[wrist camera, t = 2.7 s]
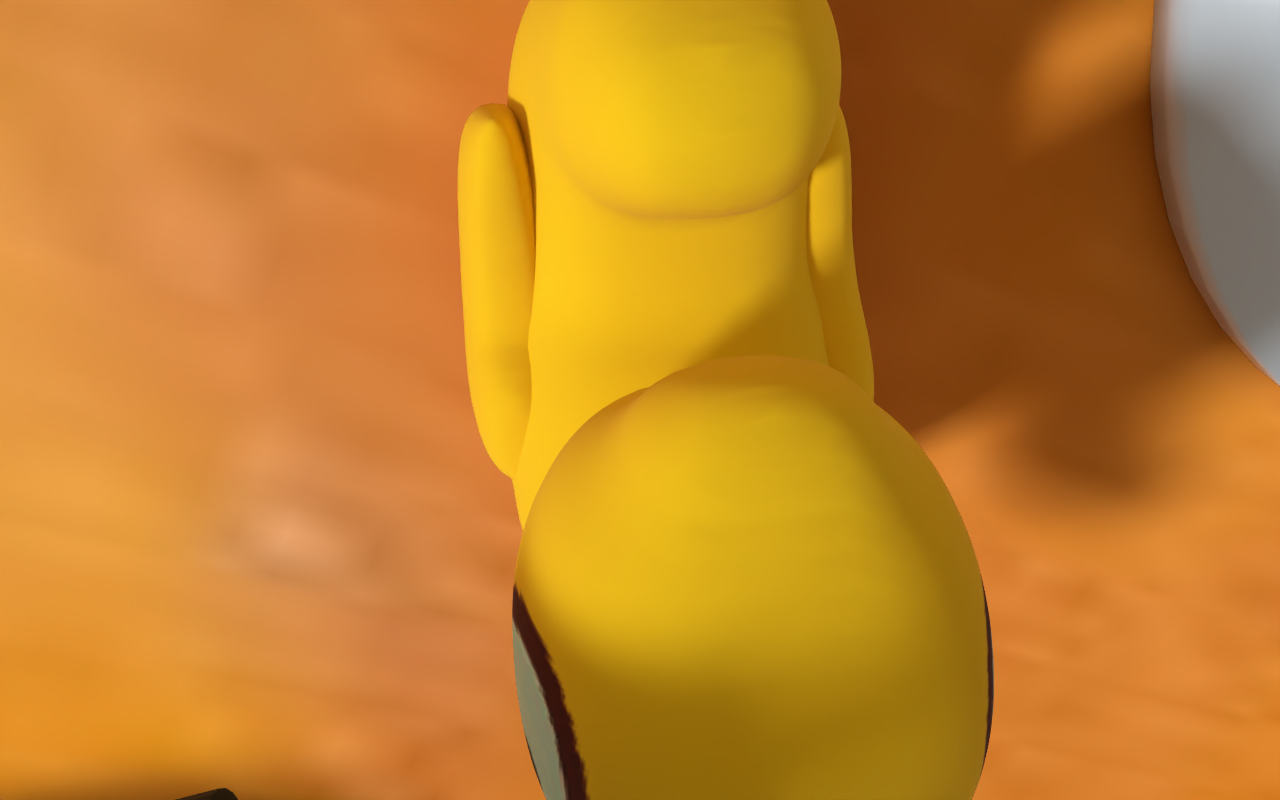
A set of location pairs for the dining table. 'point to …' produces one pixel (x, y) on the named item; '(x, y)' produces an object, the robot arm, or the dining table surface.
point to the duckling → (706, 424)
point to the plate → (1223, 158)
